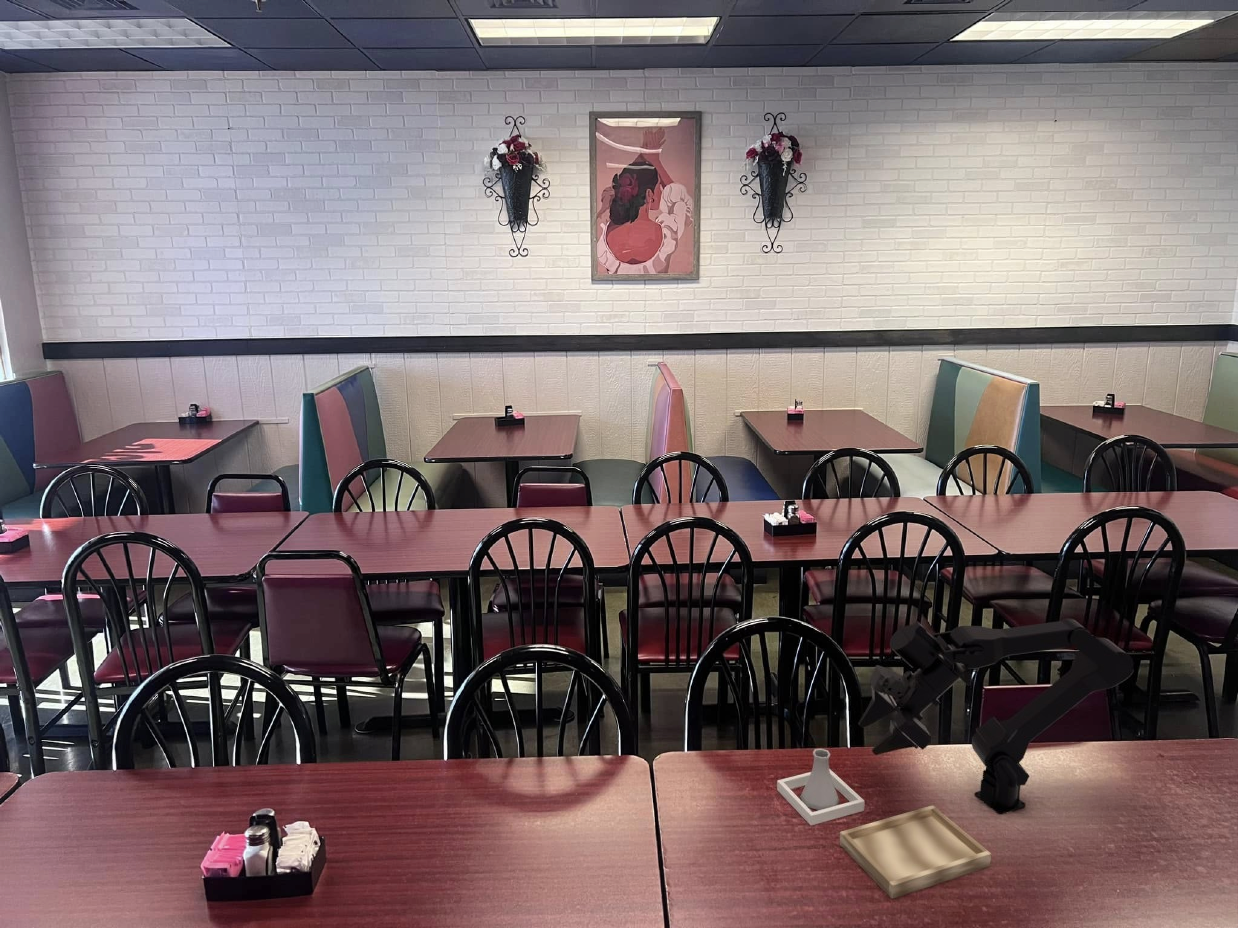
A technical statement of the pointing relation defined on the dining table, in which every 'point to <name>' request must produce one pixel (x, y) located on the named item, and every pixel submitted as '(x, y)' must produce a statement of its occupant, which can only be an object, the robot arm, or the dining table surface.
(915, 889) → the serving tray
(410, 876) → the dining table surface
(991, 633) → the robot arm
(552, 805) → the dining table surface
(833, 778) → the white square frame
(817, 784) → the flask
